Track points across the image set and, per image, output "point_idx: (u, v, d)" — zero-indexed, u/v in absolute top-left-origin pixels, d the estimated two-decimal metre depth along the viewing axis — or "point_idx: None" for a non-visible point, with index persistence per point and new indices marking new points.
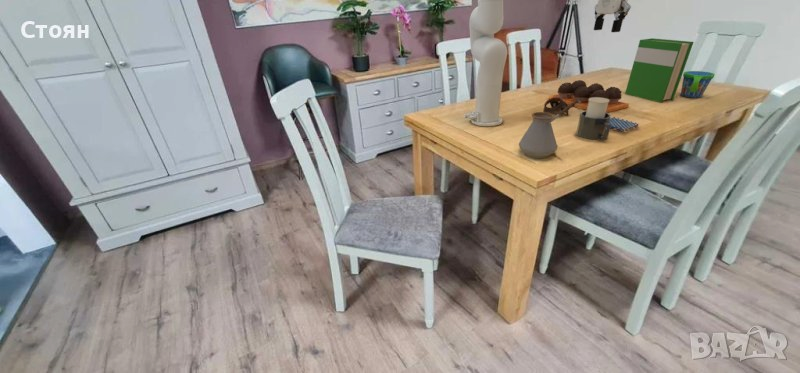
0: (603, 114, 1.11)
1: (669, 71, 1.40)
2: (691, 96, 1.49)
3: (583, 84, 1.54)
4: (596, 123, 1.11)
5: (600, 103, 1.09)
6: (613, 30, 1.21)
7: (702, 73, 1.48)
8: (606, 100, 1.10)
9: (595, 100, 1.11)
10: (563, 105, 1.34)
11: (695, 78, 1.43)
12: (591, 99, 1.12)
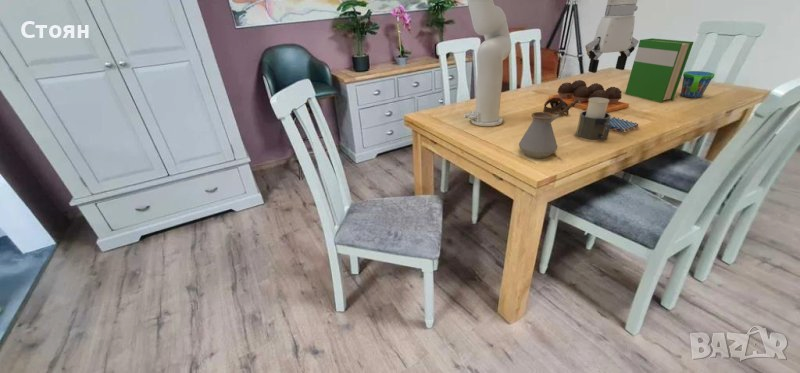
0: (603, 114, 1.11)
1: (669, 71, 1.40)
2: (691, 96, 1.49)
3: (583, 84, 1.54)
4: (596, 123, 1.11)
5: (600, 103, 1.09)
6: None
7: (702, 73, 1.48)
8: (606, 100, 1.10)
9: (595, 100, 1.11)
10: (563, 105, 1.34)
11: (695, 78, 1.43)
12: (591, 99, 1.12)
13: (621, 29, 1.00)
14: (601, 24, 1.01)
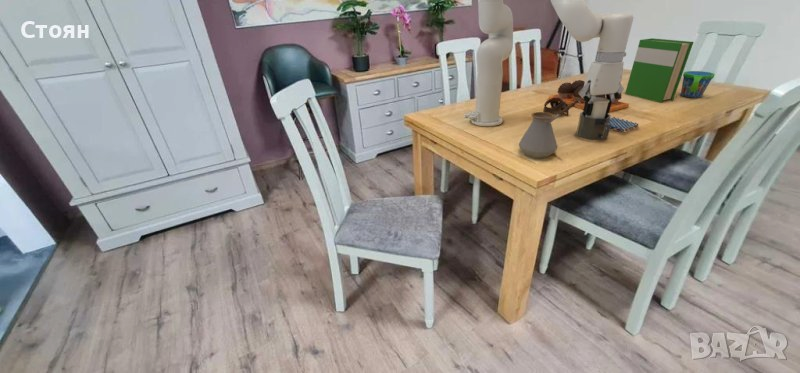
0: (603, 114, 1.11)
1: (669, 71, 1.40)
2: (691, 96, 1.49)
3: (583, 84, 1.54)
4: (596, 123, 1.11)
5: (600, 103, 1.09)
6: (584, 111, 1.14)
7: (702, 73, 1.48)
8: (606, 100, 1.10)
9: (595, 100, 1.10)
10: (563, 105, 1.34)
11: (695, 78, 1.43)
12: None
13: (610, 74, 1.05)
14: (591, 69, 1.06)
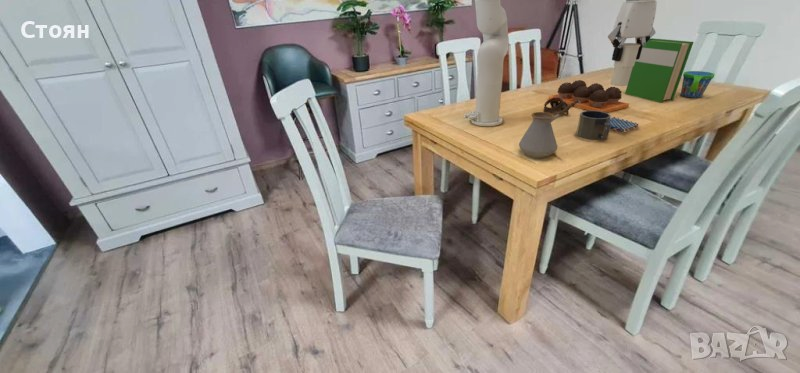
0: (633, 59, 1.06)
1: (669, 71, 1.40)
2: (691, 96, 1.49)
3: (583, 84, 1.54)
4: (596, 123, 1.11)
5: (631, 47, 1.04)
6: (613, 58, 1.09)
7: (702, 73, 1.48)
8: (637, 44, 1.05)
9: (625, 44, 1.06)
10: (563, 105, 1.34)
11: (695, 78, 1.43)
12: None
13: (643, 14, 1.00)
14: (622, 9, 1.02)
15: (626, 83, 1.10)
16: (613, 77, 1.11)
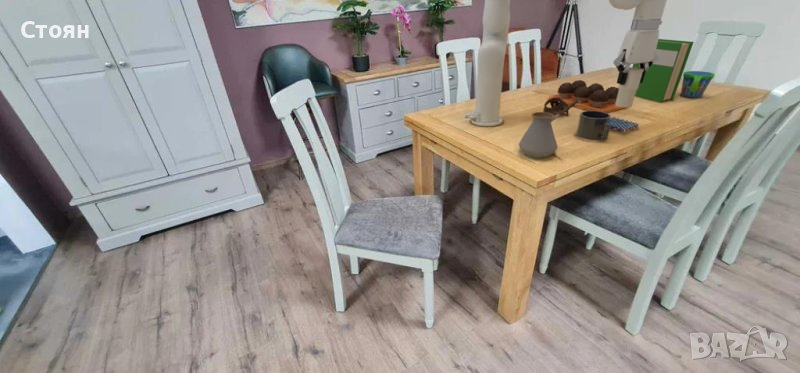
0: (637, 83, 1.13)
1: (669, 71, 1.40)
2: (691, 96, 1.49)
3: (583, 84, 1.54)
4: (596, 123, 1.11)
5: (635, 72, 1.11)
6: (617, 81, 1.16)
7: (702, 73, 1.48)
8: (641, 69, 1.12)
9: (630, 69, 1.12)
10: (563, 105, 1.34)
11: (695, 78, 1.43)
12: None
13: (646, 42, 1.07)
14: (627, 37, 1.08)
15: (630, 105, 1.17)
16: (618, 99, 1.18)
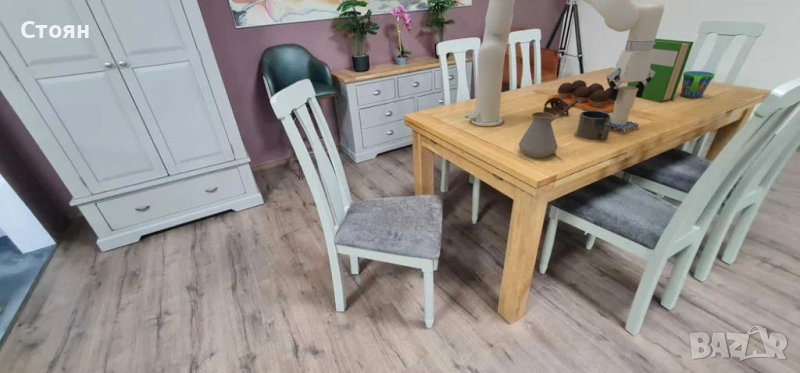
0: (632, 102, 1.16)
1: (669, 71, 1.40)
2: (691, 96, 1.49)
3: (583, 84, 1.53)
4: (596, 123, 1.11)
5: (630, 91, 1.14)
6: (609, 96, 1.18)
7: (702, 73, 1.48)
8: (635, 88, 1.15)
9: (624, 88, 1.16)
10: (563, 105, 1.34)
11: (695, 78, 1.43)
12: (620, 87, 1.17)
13: (640, 62, 1.10)
14: (622, 57, 1.11)
15: (625, 122, 1.20)
16: (613, 116, 1.21)
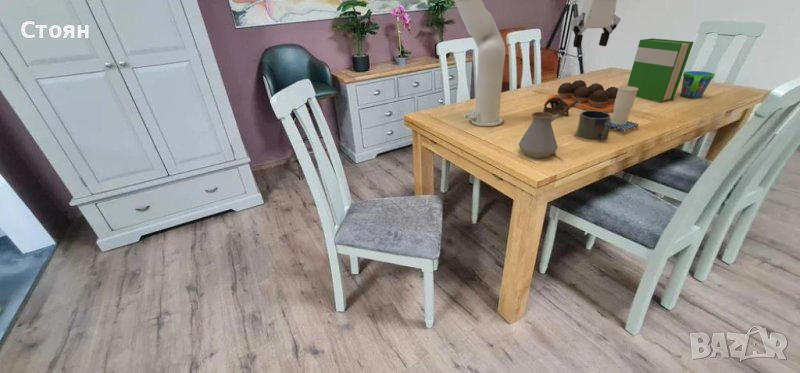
0: (632, 102, 1.16)
1: (669, 71, 1.40)
2: (691, 96, 1.49)
3: (583, 84, 1.54)
4: (596, 123, 1.11)
5: (630, 91, 1.14)
6: (574, 44, 1.15)
7: (702, 73, 1.48)
8: (635, 88, 1.15)
9: (624, 88, 1.16)
10: (563, 105, 1.34)
11: (695, 78, 1.43)
12: (620, 87, 1.17)
13: (604, 6, 1.07)
14: (586, 1, 1.08)
15: (625, 122, 1.20)
16: (613, 116, 1.21)
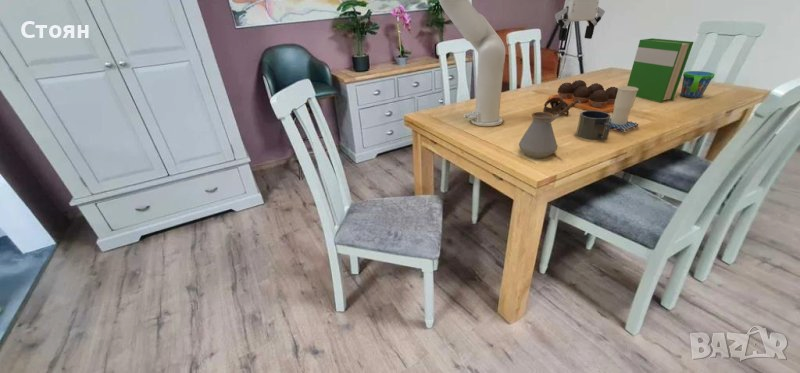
0: (632, 102, 1.16)
1: (669, 71, 1.40)
2: (691, 96, 1.49)
3: (583, 84, 1.54)
4: (596, 123, 1.11)
5: (630, 91, 1.14)
6: (559, 38, 1.16)
7: (702, 73, 1.48)
8: (635, 88, 1.15)
9: (624, 88, 1.16)
10: (563, 105, 1.34)
11: (695, 78, 1.43)
12: (620, 87, 1.17)
13: None
14: None
15: (625, 122, 1.20)
16: (613, 116, 1.21)
